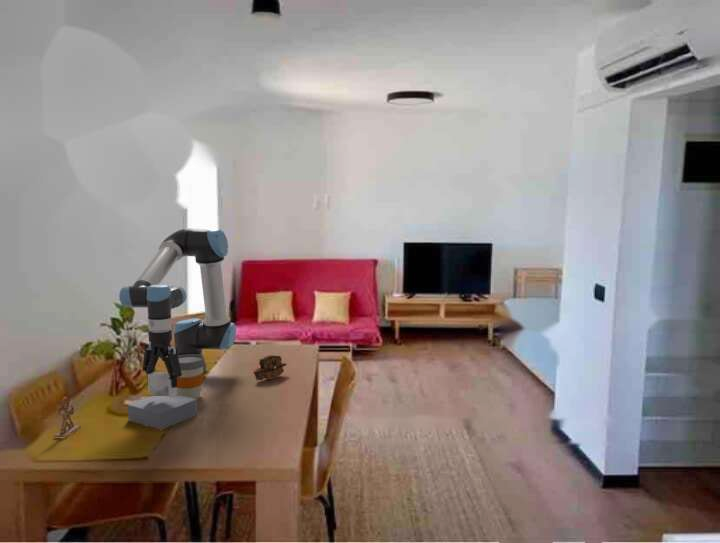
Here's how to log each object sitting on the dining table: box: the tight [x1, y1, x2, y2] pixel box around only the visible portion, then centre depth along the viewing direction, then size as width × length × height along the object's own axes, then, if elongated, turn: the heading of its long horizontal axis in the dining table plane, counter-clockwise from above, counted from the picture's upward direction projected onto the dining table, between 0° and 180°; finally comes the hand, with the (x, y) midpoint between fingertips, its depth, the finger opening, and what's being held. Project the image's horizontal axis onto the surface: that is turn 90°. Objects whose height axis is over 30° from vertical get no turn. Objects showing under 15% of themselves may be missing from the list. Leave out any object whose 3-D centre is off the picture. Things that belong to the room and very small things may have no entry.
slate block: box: [127, 395, 198, 430], centre depth 198 cm, size 16×16×6 cm
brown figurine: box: [53, 396, 81, 438], centre depth 184 cm, size 9×4×12 cm, turn 176°
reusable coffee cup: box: [176, 355, 205, 399], centre depth 219 cm, size 13×13×15 cm
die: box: [147, 371, 170, 396], centre depth 197 cm, size 8×9×10 cm
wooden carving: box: [253, 354, 287, 381], centre depth 242 cm, size 16×5×10 cm, turn 143°
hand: (162, 393), depth 197 cm, fingers closed on die, 9 cm apart
